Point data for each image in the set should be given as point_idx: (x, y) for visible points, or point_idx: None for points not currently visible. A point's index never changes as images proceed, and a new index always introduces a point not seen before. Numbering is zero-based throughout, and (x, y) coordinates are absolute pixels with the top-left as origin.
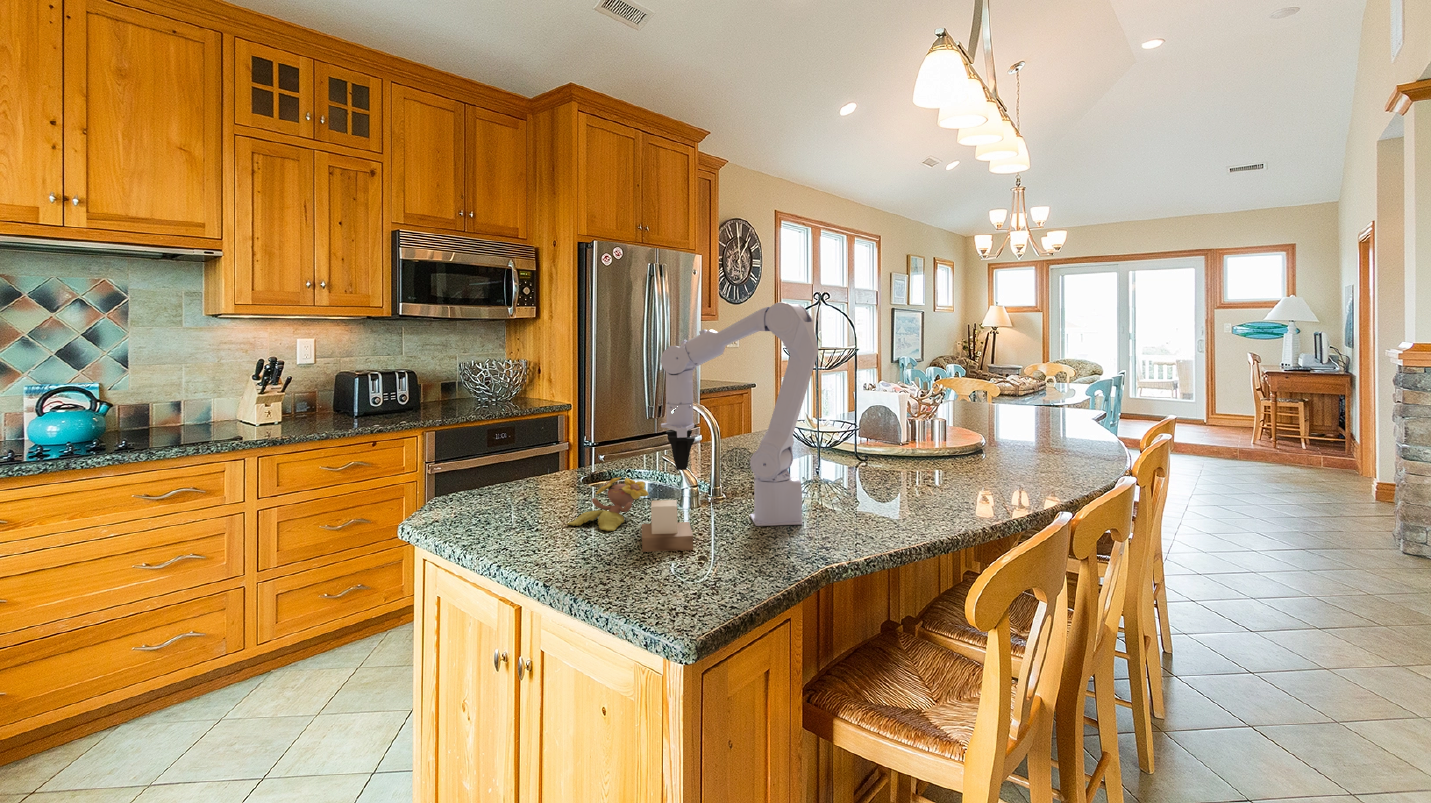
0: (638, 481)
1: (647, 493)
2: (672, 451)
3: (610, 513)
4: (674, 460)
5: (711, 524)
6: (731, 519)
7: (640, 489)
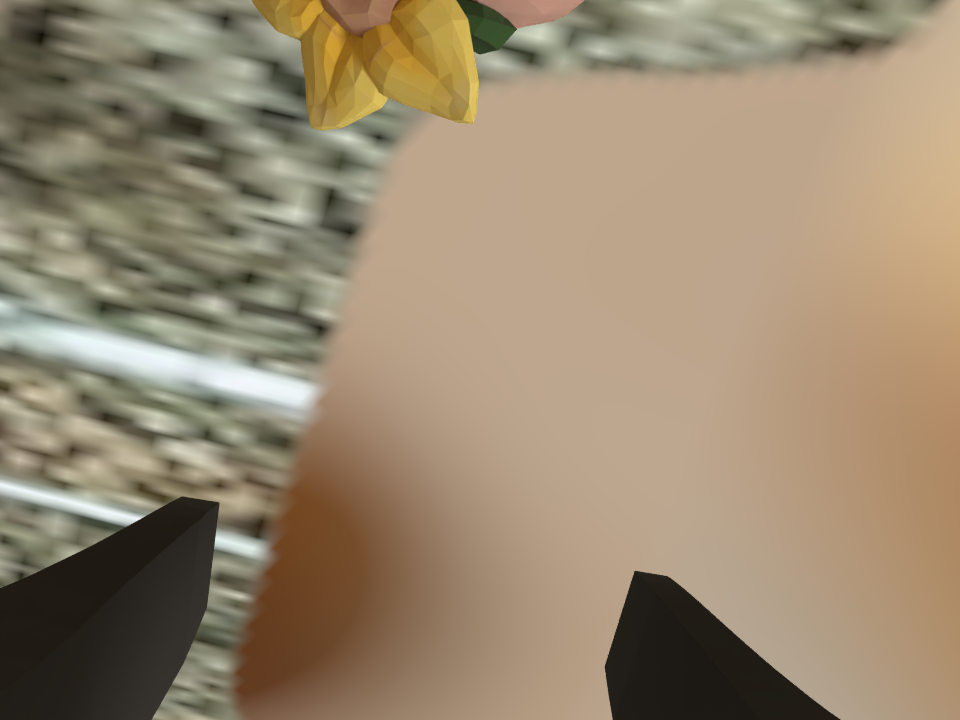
0: (452, 33)
1: (322, 119)
2: (702, 651)
3: None
4: (645, 586)
5: (59, 493)
6: None
7: (354, 44)
